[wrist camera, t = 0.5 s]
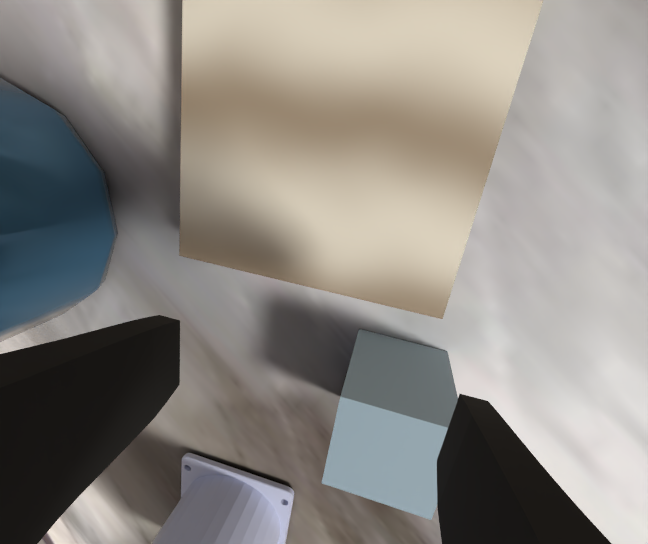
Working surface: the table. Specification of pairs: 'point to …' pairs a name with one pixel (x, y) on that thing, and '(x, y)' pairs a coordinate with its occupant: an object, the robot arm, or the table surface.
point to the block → (392, 423)
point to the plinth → (344, 137)
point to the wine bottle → (47, 215)
